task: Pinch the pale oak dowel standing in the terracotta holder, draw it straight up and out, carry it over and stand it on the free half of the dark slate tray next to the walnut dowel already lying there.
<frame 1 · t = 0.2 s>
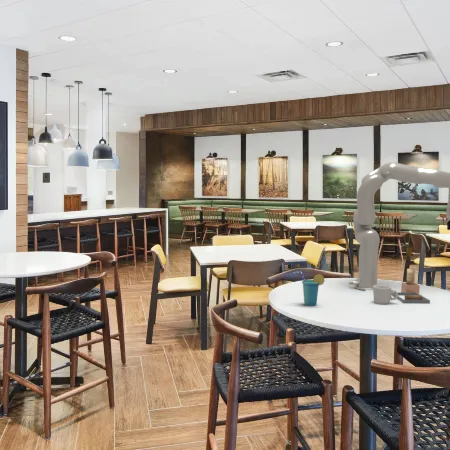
oak dowel: (410, 293, 230), point 1 cm above the table, touching holder
holder: (410, 294, 230), on the table
cup 2: (308, 304, 209), on the table
walnut dowel: (413, 301, 213), point 1 cm above the table, touching tray
cup: (384, 304, 211), on the table
tray: (409, 300, 218), on the table
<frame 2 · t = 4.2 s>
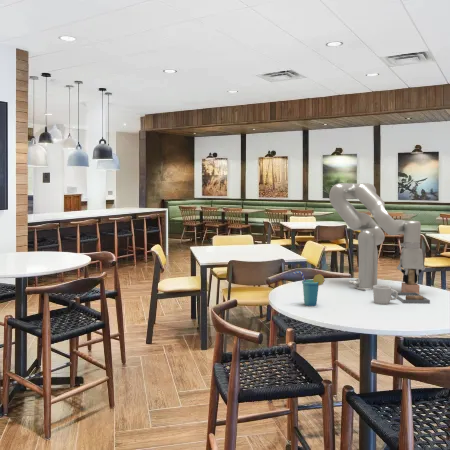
hand: (410, 282, 230), 6 cm above the table, fingers closed on oak dowel, 3 cm apart
oak dowel: (410, 293, 230), point 1 cm above the table, touching gripper, holder
walnut dowel: (413, 300, 213), point 1 cm above the table, tilted 43°, touching tray
everything else where it was.
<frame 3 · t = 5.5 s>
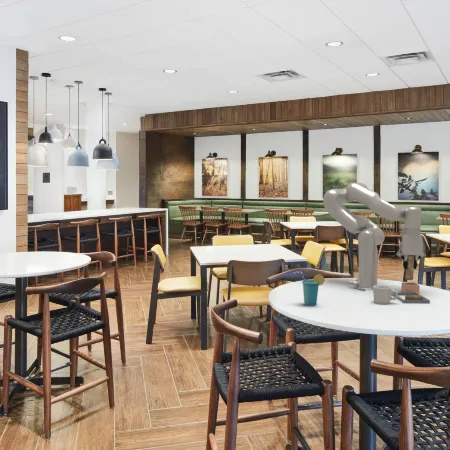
hand: (409, 268, 230), 13 cm above the table, fingers closed on oak dowel, 3 cm apart
oak dowel: (409, 279, 230), point 8 cm above the table, touching gripper
walnut dowel: (413, 301, 213), point 1 cm above the table, tilted 17°, touching tray
everything else where it was.
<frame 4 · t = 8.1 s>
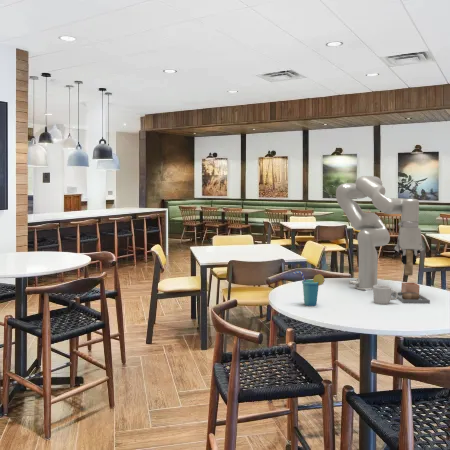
hand: (408, 263, 220), 17 cm above the table, fingers closed on oak dowel, 3 cm apart
oak dowel: (408, 274, 220), point 12 cm above the table, touching gripper
walnut dowel: (411, 295, 216), point 3 cm above the table, tilted 131°, touching tray
everything else where it was.
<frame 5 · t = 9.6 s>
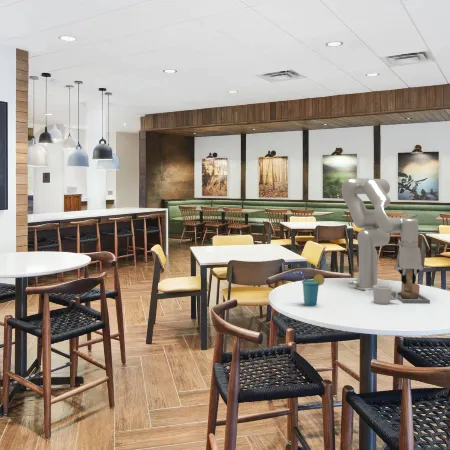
hand: (408, 282, 220), 8 cm above the table, fingers closed on oak dowel, 3 cm apart
oak dowel: (408, 291, 221), point 3 cm above the table, touching gripper, walnut dowel
walnut dowel: (409, 292, 219), point 3 cm above the table, tilted 153°, touching oak dowel, tray
everything else where it was.
when the fingers open (7 cm above the table, at t = 10.5 s): oak dowel drops 2 cm, resting on tray.
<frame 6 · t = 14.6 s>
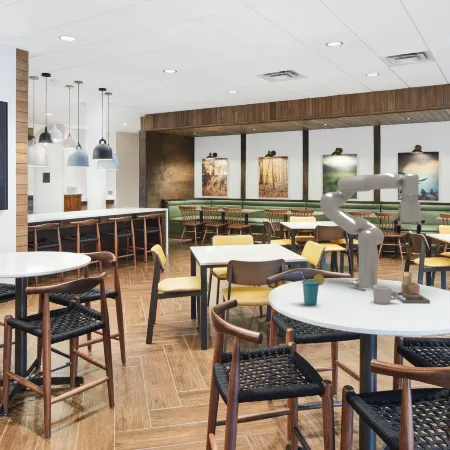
hand: (408, 233, 230), 30 cm above the table, fingers open, 9 cm apart
oak dowel: (406, 297, 221), point 1 cm above the table, touching tray
walnut dowel: (414, 301, 213), point 1 cm above the table, tilted 13°, touching tray
everything else where it was.
at the end: oak dowel inside the target area on the tray (0.8 cm from its centre), point 0.6 cm above the tray's base; oak dowel tilted 1°; the gripper is holding nothing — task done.
